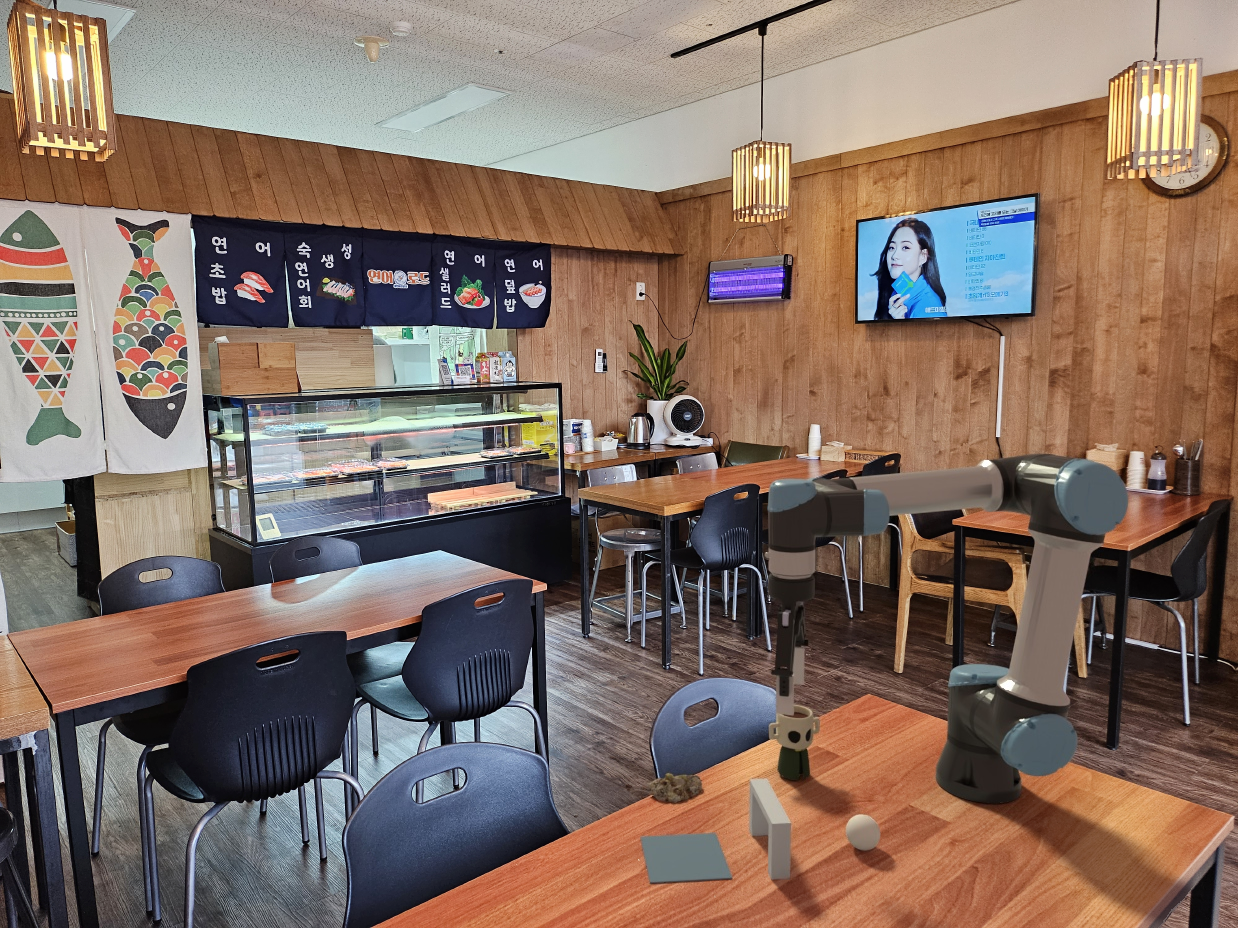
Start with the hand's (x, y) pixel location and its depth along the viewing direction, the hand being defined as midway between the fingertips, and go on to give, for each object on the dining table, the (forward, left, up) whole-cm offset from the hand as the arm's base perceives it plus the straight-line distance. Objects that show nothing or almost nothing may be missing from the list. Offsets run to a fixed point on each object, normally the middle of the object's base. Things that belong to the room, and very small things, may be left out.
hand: (790, 697), depth 142 cm
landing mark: (+19, +4, -25) cm, 31 cm away
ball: (-11, +4, -22) cm, 25 cm away
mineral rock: (+16, -17, -25) cm, 35 cm away
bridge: (+5, +4, -25) cm, 25 cm away
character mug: (-7, -22, -25) cm, 34 cm away
